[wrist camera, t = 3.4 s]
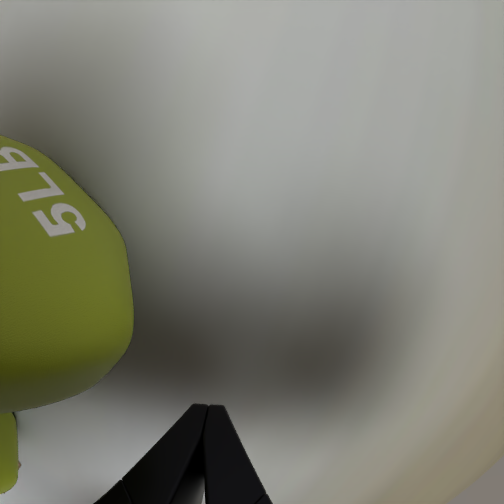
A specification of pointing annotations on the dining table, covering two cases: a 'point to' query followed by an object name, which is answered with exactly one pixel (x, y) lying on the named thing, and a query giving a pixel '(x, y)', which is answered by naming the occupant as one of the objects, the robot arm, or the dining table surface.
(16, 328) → the dumbbell
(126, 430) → the dining table surface
